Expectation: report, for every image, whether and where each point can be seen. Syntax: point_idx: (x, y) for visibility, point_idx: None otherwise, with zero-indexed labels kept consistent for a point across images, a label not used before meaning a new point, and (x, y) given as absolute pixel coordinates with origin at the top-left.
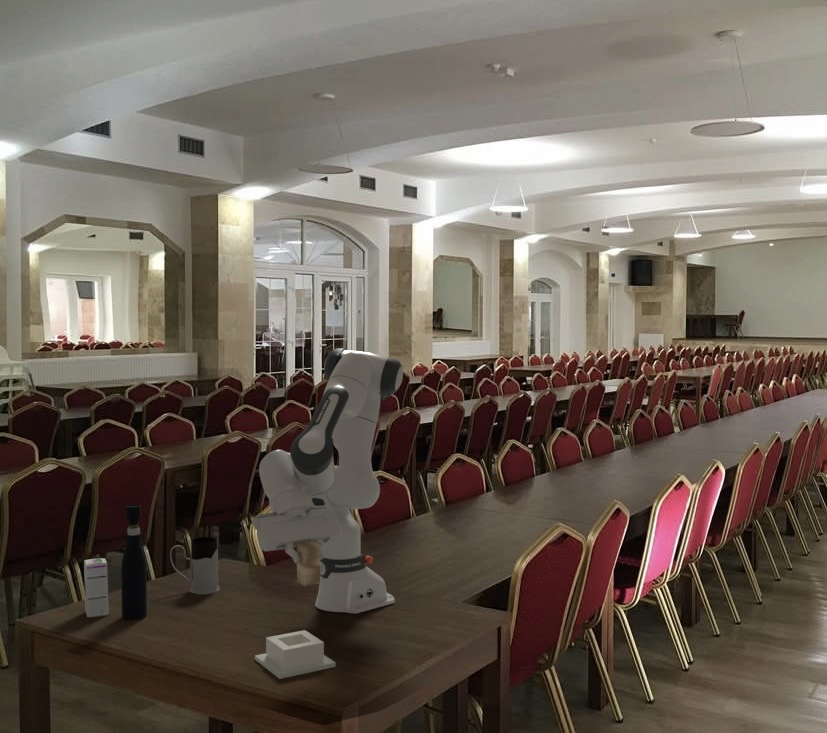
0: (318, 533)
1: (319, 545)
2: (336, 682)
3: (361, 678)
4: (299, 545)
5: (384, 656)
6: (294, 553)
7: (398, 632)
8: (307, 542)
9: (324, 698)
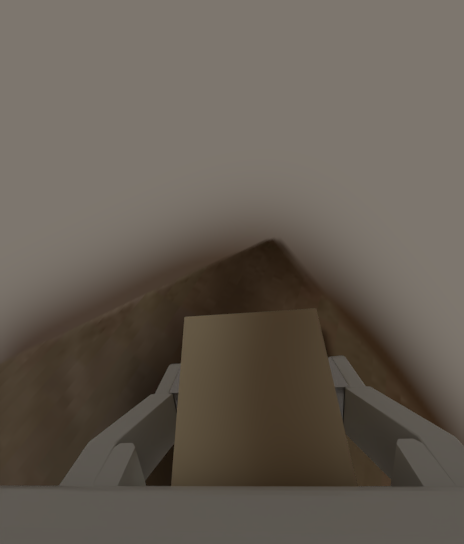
0: (34, 539)
1: (191, 317)
2: (250, 301)
3: (216, 299)
4: (338, 411)
5: (144, 357)
6: (367, 389)
7: (42, 463)
8: (238, 462)
9: (281, 266)
